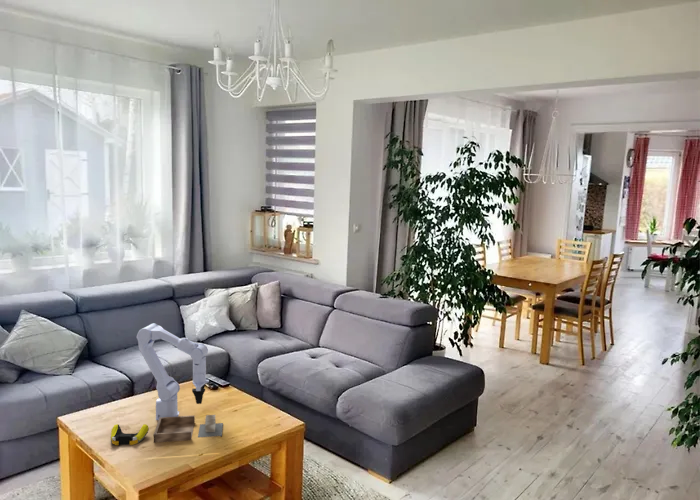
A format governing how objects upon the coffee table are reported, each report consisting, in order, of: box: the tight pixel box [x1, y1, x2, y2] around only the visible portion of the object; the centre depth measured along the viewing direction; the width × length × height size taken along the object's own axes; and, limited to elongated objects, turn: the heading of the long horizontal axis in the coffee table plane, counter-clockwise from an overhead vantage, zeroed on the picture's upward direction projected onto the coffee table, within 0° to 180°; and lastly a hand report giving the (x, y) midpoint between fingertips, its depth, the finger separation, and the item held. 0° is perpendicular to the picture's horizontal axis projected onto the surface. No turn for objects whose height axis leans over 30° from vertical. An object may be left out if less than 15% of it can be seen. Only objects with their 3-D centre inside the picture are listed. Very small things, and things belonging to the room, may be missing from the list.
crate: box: [153, 414, 196, 443], centre depth 229 cm, size 15×16×4 cm
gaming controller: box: [110, 423, 150, 446], centre depth 221 cm, size 15×6×10 cm
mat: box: [197, 422, 224, 438], centre depth 232 cm, size 10×12×1 cm
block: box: [204, 414, 216, 432], centre depth 231 cm, size 4×4×6 cm
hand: (199, 400), depth 241 cm, fingers open, 7 cm apart
